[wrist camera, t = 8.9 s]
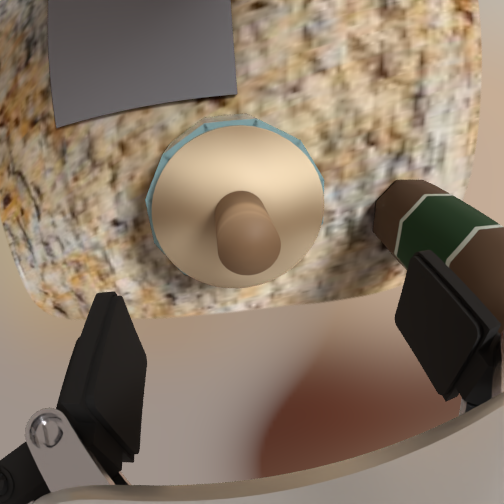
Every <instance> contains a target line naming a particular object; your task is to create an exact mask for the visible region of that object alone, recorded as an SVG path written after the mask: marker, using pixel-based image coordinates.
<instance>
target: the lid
mask: <svg viewBox="0 0 504 504" xmlns="http://www.w3.org/2000/svg"><path fill="white" fill-rule="evenodd" d="M323 214H324V194H323V189H322V184H321V181H320V179H319V176H318V173H317V171H316V170H315V168H314V166H313V164H312V163H311V161H310V160H309V159H308V157H307V156H306V155H305V154H304V153H303V152H302V151H301V150H300V149H299V148H298V147H297V146H296V145H294V144H293V143H292V142H291V141H289V140H287V139H286V138H284V137H282V136H280V135H279V134H277V133H275V132H272V131H269V130H267V129H263V128H259V127H255V126H246V125H233V126H225V127H220V128H216V129H213V130H210V131H207V132H205V133H202V134H200V135H198V136H196V137H195V138H193V139H192V140H190V141H189V142H187V143H186V144H184V145H183V146H182V147H181V148H180V149H179V150H178V151H177V152H176V153H175V154H174V155H173V156H172V157H171V159H170V160H169V161H168V163H167V164H166V166H165V167H164V169H163V171H162V173H161V175H160V177H159V179H158V181H157V184H156V187H155V190H154V194H153V200H152V222H153V228H154V231H155V234H156V238H157V240H158V242H159V244H160V246H161V248H162V250H163V251H164V253H165V254H166V256H167V257H168V258H169V259H170V260H171V262H172V263H173V264H174V265H175V266H176V267H178V268H179V269H180V270H181V271H182V272H184V273H185V274H187V275H188V276H190V277H192V278H194V279H196V280H198V281H200V282H203V283H205V284H208V285H212V286H216V287H223V288H246V287H252V286H257V285H260V284H263V283H266V282H269V281H271V280H274V279H276V278H278V277H279V276H281V275H283V274H285V273H286V272H287V271H289V270H290V269H292V268H293V267H294V266H295V265H296V264H297V263H298V262H300V261H301V260H302V258H303V257H304V256H305V255H306V254H307V253H308V251H309V250H310V248H311V247H312V245H313V243H314V241H315V239H316V238H317V236H318V233H319V230H320V227H321V224H322V219H323Z"/></svg>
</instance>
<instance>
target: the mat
mask: <svg viewBox="0 0 504 504" xmlns="http://www.w3.org/2000/svg"><path fill="white" fill-rule="evenodd" d="M48 52H49V68H50V80H51V91H52V99H53V107H54V115H55V122H56V128H58V127H61V126H65V125H68V124H72V123H75V122H79V121H83V120H86V119H90V118H94V117H98V116H102V115H106V114H111V113H115V112H119V111H124V110H129V109H134V108H139V107H144V106H149V105H155V104H161V103H167V102H173V101H180V100H187V99H195V98H203V97H212V96H222V95H233V94H237V82H236V69H235V56H234V42H233V29H232V15H231V1H230V0H48Z"/></svg>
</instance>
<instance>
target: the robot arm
mask: <svg viewBox="0 0 504 504" xmlns="http://www.w3.org/2000/svg"><path fill="white" fill-rule="evenodd" d="M395 323H396V326H397V327H398V329H399V330H400V331H401V333H402V335H403V337H404V338H405V340H406V341H407V343H408V345H409V346H410V348H411V349H412V351H413V352H414V354H415V356H416V357H417V359H418V361H419V362H420V364H421V365H422V367H423V369H424V371H425V372H426V374H427V375H428V377H429V379H430V381H431V382H432V384H433V386H434V387H435V389H436V391H437V392H438V394H440V395H442V396H443V398H444V399H445V401H448V400H450V399H453V398H455V397H457V396H458V394H459V393H460V395H461V396H462V400H461V407H460V412H459V416H458V417H456V418H454V419H452V420H450V421H448V422H446V423H444V424H442V425H439V426H437V427H435V428H433V429H430V430H428V431H426V432H424V433H421V434H419V435H416V436H414V437H411V438H409V439H406V440H404V441H401V442H399V443H396V444H393V445H391V446H388V447H385V448H382V449H379V450H377V451H374V452H371V453H367V454H364V455H361V456H358V457H355V458H351V459H348V460H344V461H340V462H337V463H333V464H329V465H326V466H321V467H317V468H313V469H309V470H304V471H299V472H294V473H289V474H283V475H278V476H272V477H266V478H259V479H252V480H244V481H235V482H225V483H213V484H196V485H175V486H174V485H171V486H149V485H131V484H130V483H129V481H128V480H127V479H126V478H125V477H124V475H123V474H122V473H121V472H120V471H121V470H122V462H134V454H138V453H139V449H140V434H141V433H140V432H141V419H142V407H143V397H144V386H145V377H146V367H147V359H146V354H145V352H144V349H143V347H142V345H141V342H140V340H139V337H138V335H137V333H136V331H135V328H134V325H133V323H132V320H131V318H130V315H129V313H128V310H127V308H126V305H125V302H124V300H123V297H122V296H117V294H116V293H115V292H104V293H97V294H96V296H95V298H94V301H93V303H92V306H91V309H90V311H89V314H88V317H87V320H86V322H85V325H84V328H83V331H82V334H81V336H80V337H79V338H78V340H77V341H76V344H75V347H74V350H73V353H72V356H71V359H70V362H69V365H68V369H67V372H66V375H65V379H64V382H63V385H62V389H61V392H60V396H59V400H58V404H57V407H56V409H54V408H45V409H42V410H40V411H37V412H36V413H35V414H34V415H32V417H31V418H30V419H29V421H28V423H27V425H26V429H25V438H26V442H25V443H23V444H22V445H21V446H19V447H18V448H17V449H15V450H14V451H12V452H11V453H10V454H8V455H7V456H6V457H5V458H3V459H2V460H0V504H504V329H503V331H502V333H501V334H500V333H499V332H498V330H499V328H500V326H501V323H500V322H499V321H498V320H497V319H496V317H495V316H494V315H493V314H492V313H491V312H490V311H489V309H488V308H487V307H486V306H485V305H484V304H483V303H482V302H481V301H480V299H479V298H478V297H477V296H476V295H475V294H474V293H473V292H472V291H471V290H470V289H469V288H468V287H467V285H466V284H465V283H464V282H463V281H462V280H461V279H460V278H459V277H458V276H457V275H456V274H455V273H454V272H453V271H452V270H451V269H450V268H449V267H448V266H447V265H446V264H445V263H444V262H443V261H442V260H441V259H440V258H439V257H438V256H437V255H436V254H435V253H434V252H433V251H431V250H425V251H419V252H416V253H414V255H413V257H411V259H410V261H409V265H408V269H407V273H406V277H405V281H404V285H403V289H402V293H401V296H400V300H399V303H398V307H397V310H396V314H395Z"/></svg>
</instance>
